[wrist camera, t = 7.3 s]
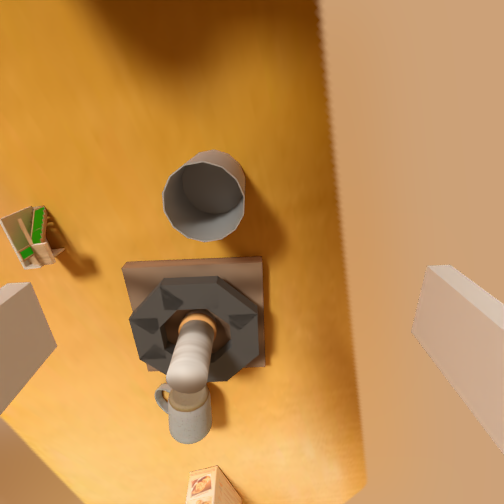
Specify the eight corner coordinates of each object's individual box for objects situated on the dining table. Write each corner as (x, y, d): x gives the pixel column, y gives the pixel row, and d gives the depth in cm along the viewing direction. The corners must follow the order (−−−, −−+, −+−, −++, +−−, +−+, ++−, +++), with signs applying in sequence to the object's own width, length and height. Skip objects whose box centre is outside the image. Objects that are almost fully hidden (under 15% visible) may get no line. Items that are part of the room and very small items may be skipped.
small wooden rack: (59, 201, 40) (17, 220, 33) (78, 246, 43) (43, 273, 36) (31, 205, 40) (-17, 225, 33) (52, 250, 43) (12, 277, 36)
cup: (258, 180, 39) (261, 200, 30) (219, 225, 41) (211, 256, 32) (207, 135, 36) (194, 142, 27) (169, 185, 39) (146, 207, 30)
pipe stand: (126, 261, 44) (82, 316, 32) (261, 256, 43) (266, 308, 32) (151, 362, 52) (123, 434, 40) (264, 358, 52) (269, 429, 40)
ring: (125, 279, 41) (119, 287, 39) (256, 273, 41) (256, 281, 39) (150, 374, 48) (146, 384, 47) (259, 370, 48) (260, 380, 46)
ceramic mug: (212, 374, 53) (206, 413, 46) (214, 405, 57) (209, 446, 50) (154, 374, 54) (139, 412, 47) (160, 404, 57) (146, 445, 50)
